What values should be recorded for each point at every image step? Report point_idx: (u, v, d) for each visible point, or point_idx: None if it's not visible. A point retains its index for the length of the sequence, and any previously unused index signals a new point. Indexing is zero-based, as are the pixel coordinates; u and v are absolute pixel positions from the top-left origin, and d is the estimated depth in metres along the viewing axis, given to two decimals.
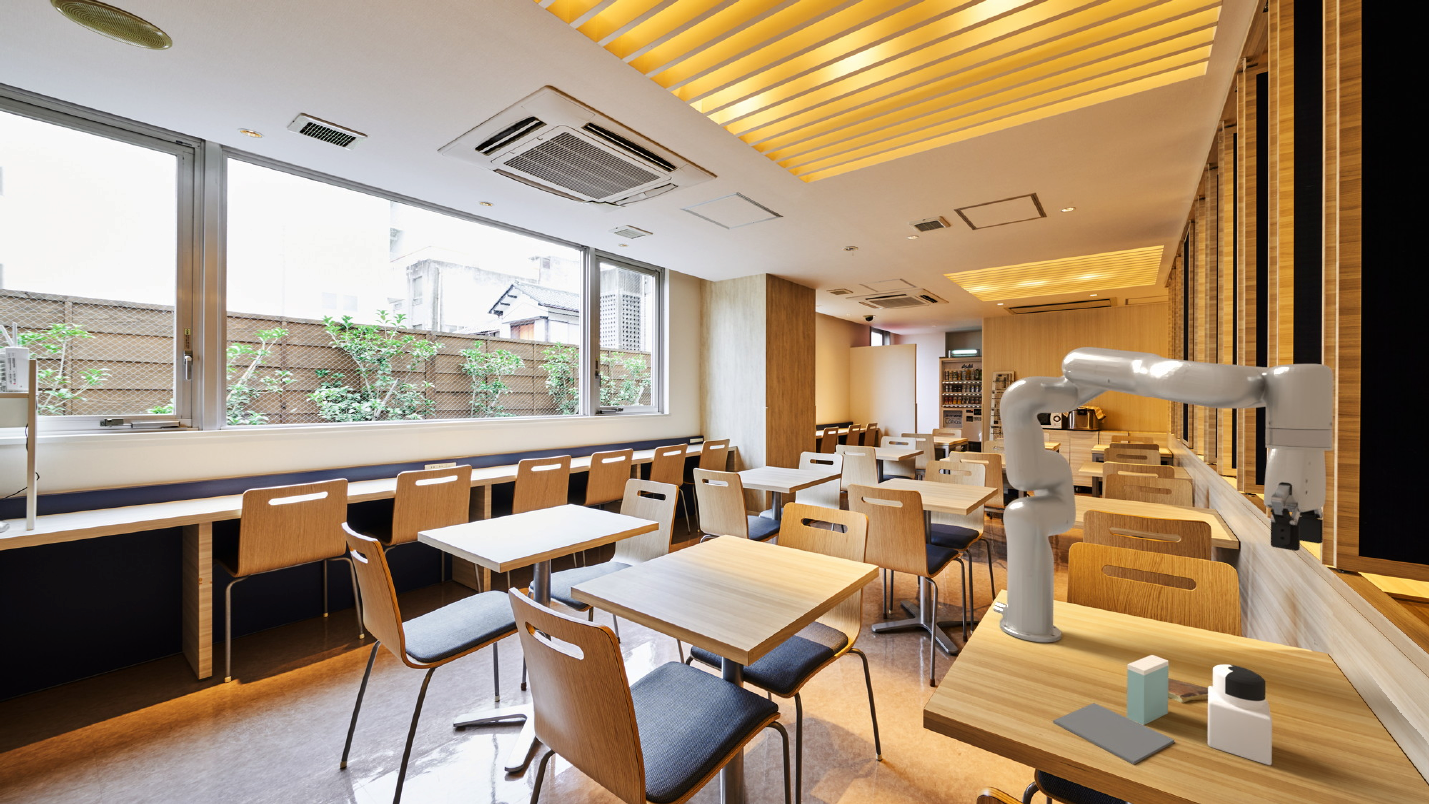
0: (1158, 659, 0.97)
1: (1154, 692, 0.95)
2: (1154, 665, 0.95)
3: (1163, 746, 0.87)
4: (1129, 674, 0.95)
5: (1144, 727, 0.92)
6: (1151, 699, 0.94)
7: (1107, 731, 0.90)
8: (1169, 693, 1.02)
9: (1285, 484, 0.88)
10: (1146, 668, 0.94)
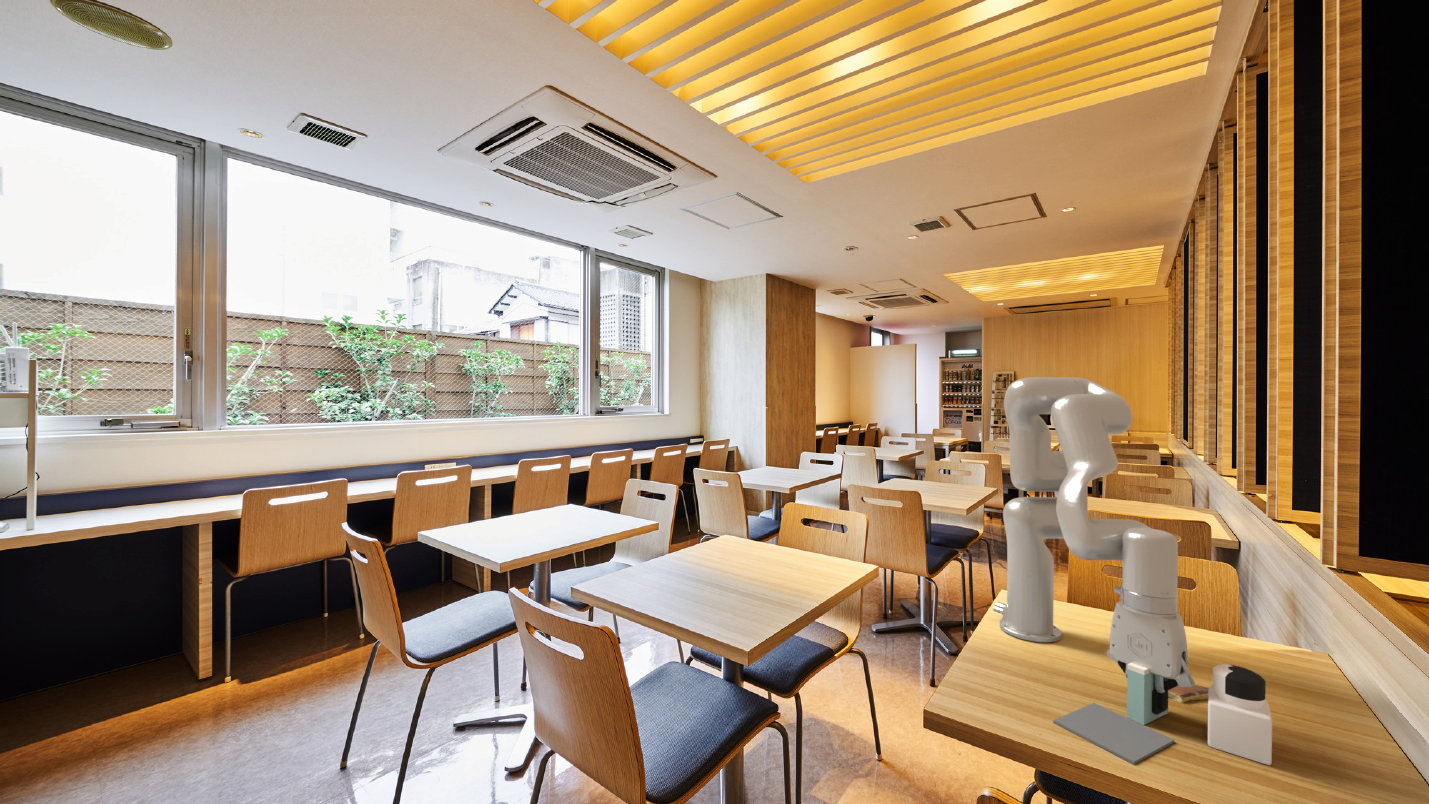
0: None
1: None
2: None
3: (1163, 746, 0.87)
4: (1129, 674, 0.95)
5: (1144, 727, 0.92)
6: (1151, 699, 0.94)
7: (1107, 731, 0.90)
8: (1169, 693, 1.02)
9: None
10: (1146, 668, 0.94)
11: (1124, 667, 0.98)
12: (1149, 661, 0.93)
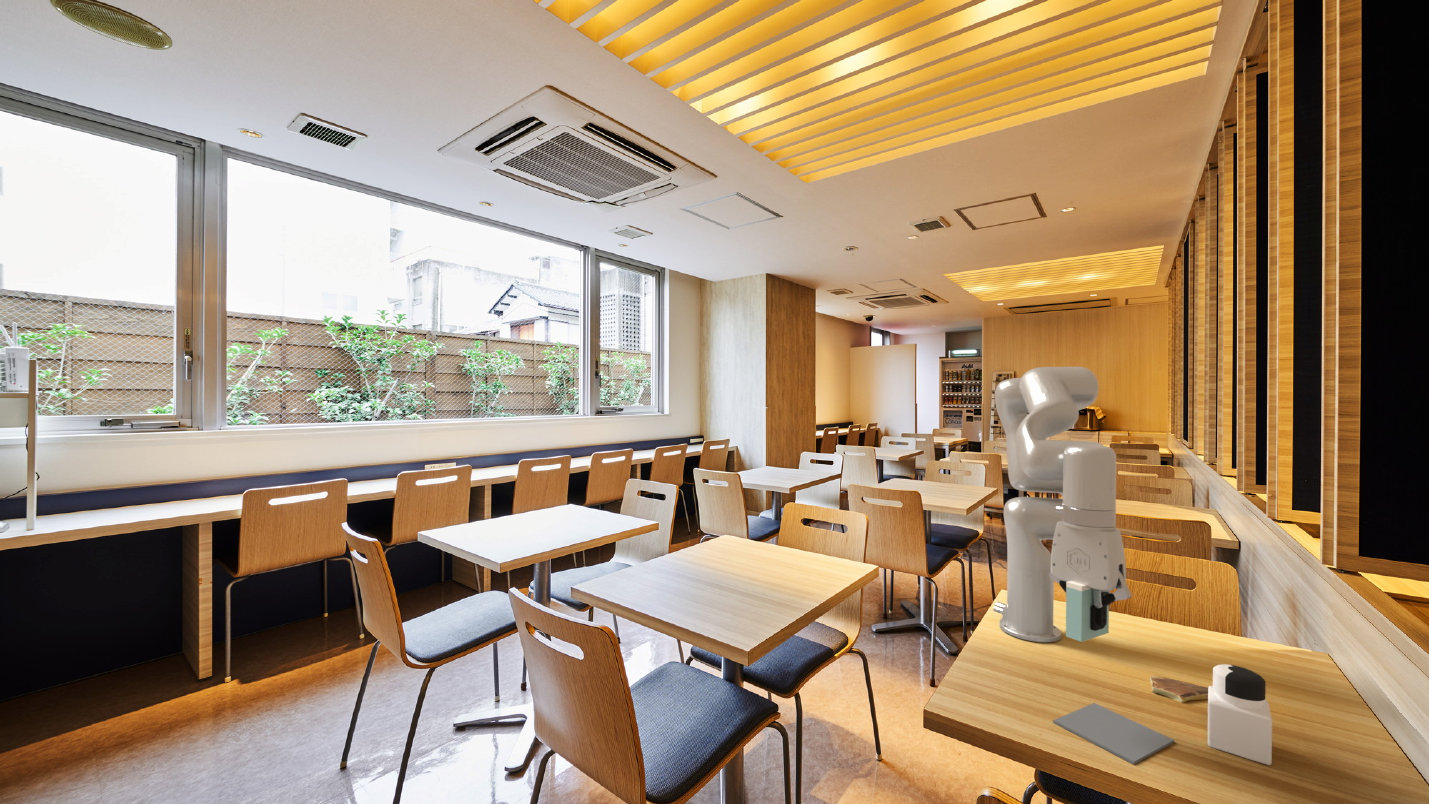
0: None
1: None
2: None
3: (1163, 746, 0.87)
4: (1068, 592, 0.93)
5: (1144, 727, 0.92)
6: None
7: (1107, 731, 0.90)
8: (1169, 693, 1.02)
9: None
10: (1084, 585, 0.92)
11: (1065, 586, 0.97)
12: (1087, 576, 0.92)
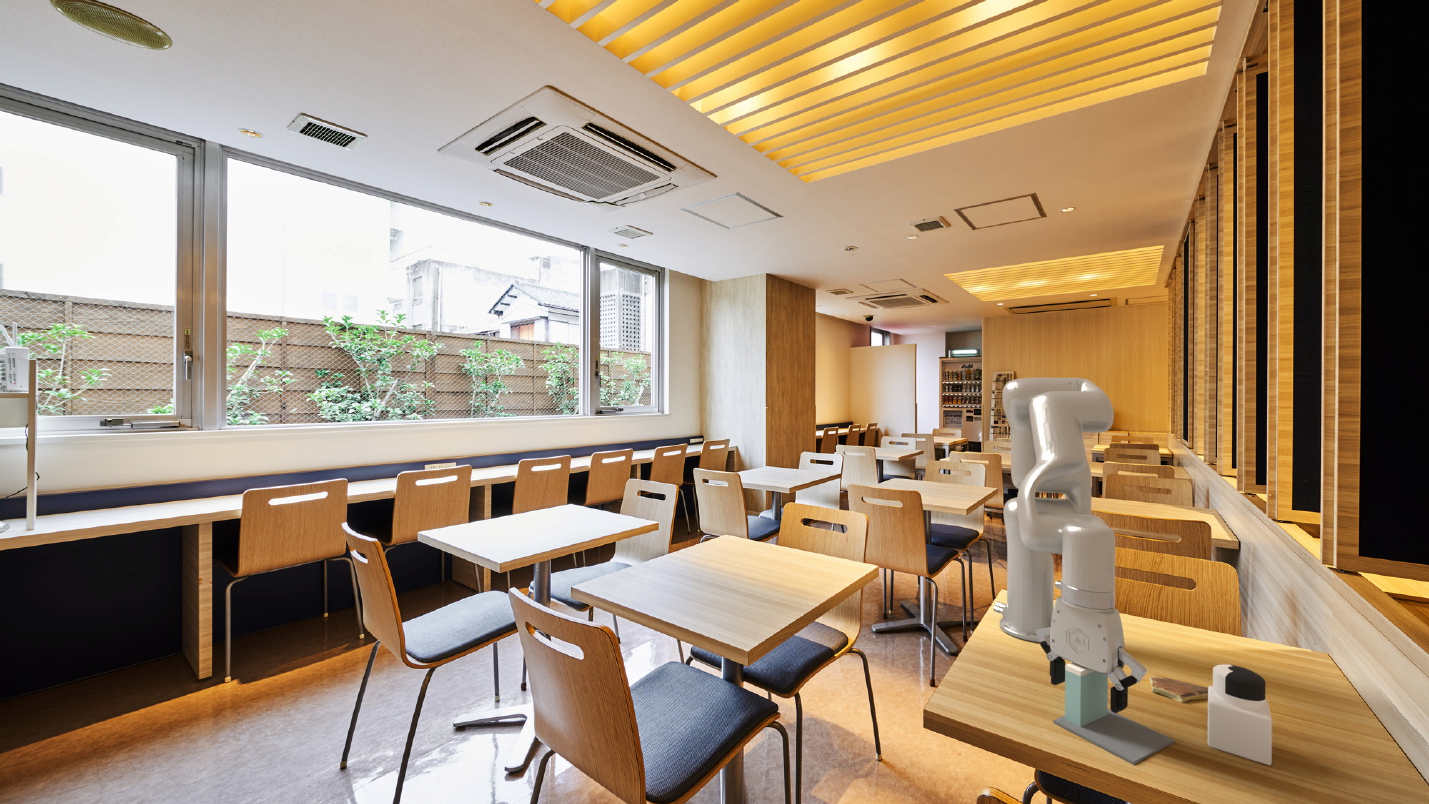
0: None
1: (1092, 693, 0.93)
2: None
3: (1163, 746, 0.87)
4: (1067, 675, 0.94)
5: (1144, 727, 0.92)
6: (1088, 700, 0.93)
7: (1107, 731, 0.90)
8: (1169, 693, 1.02)
9: (1119, 648, 0.90)
10: (1083, 669, 0.92)
11: (1046, 648, 1.00)
12: (1086, 656, 0.92)
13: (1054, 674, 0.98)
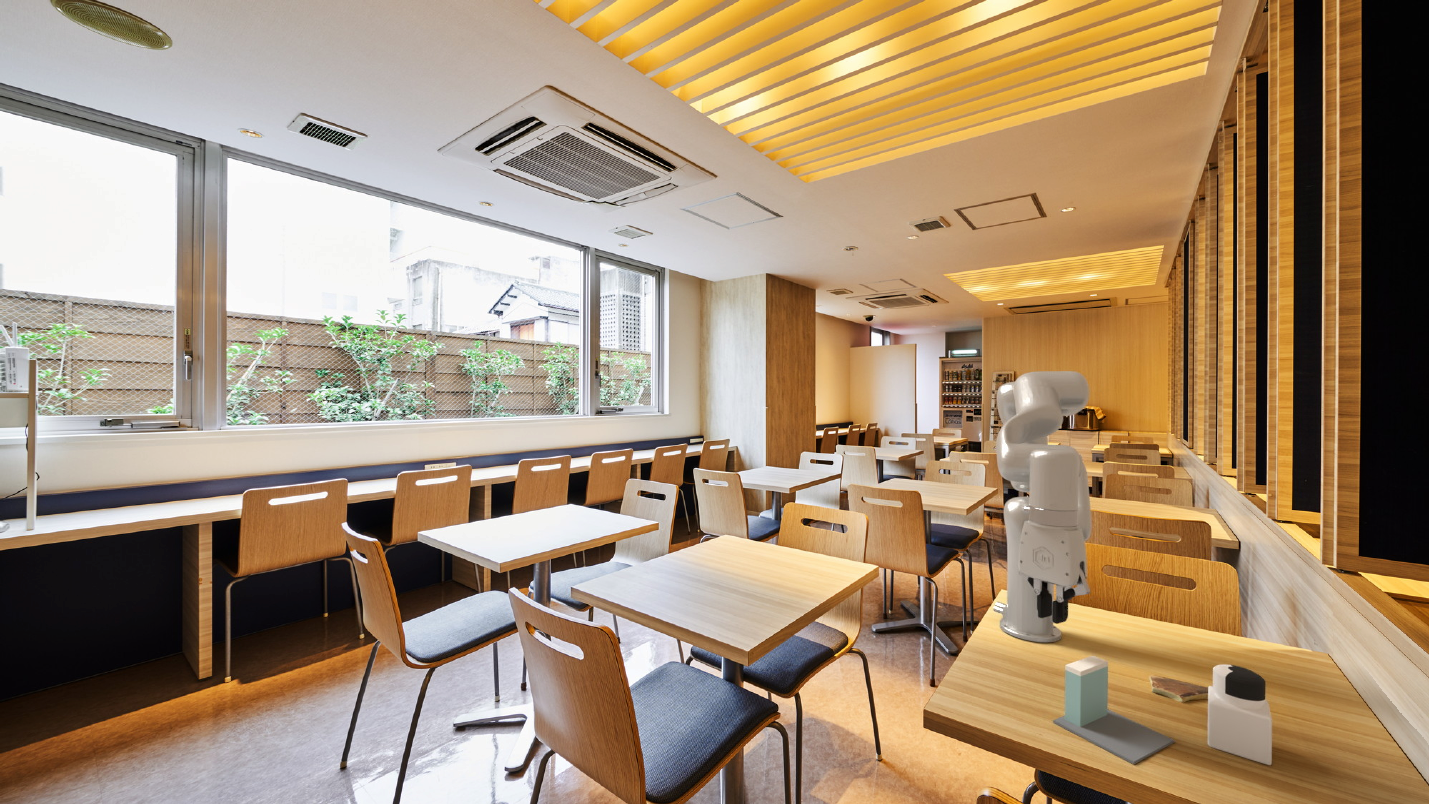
0: (1098, 660, 0.96)
1: (1092, 693, 0.93)
2: (1092, 666, 0.93)
3: (1163, 746, 0.87)
4: (1067, 675, 0.94)
5: (1144, 727, 0.92)
6: (1088, 700, 0.93)
7: (1107, 731, 0.90)
8: (1169, 693, 1.02)
9: None
10: (1083, 669, 0.92)
11: (1033, 583, 1.02)
12: (1051, 572, 0.97)
13: (1041, 607, 1.00)
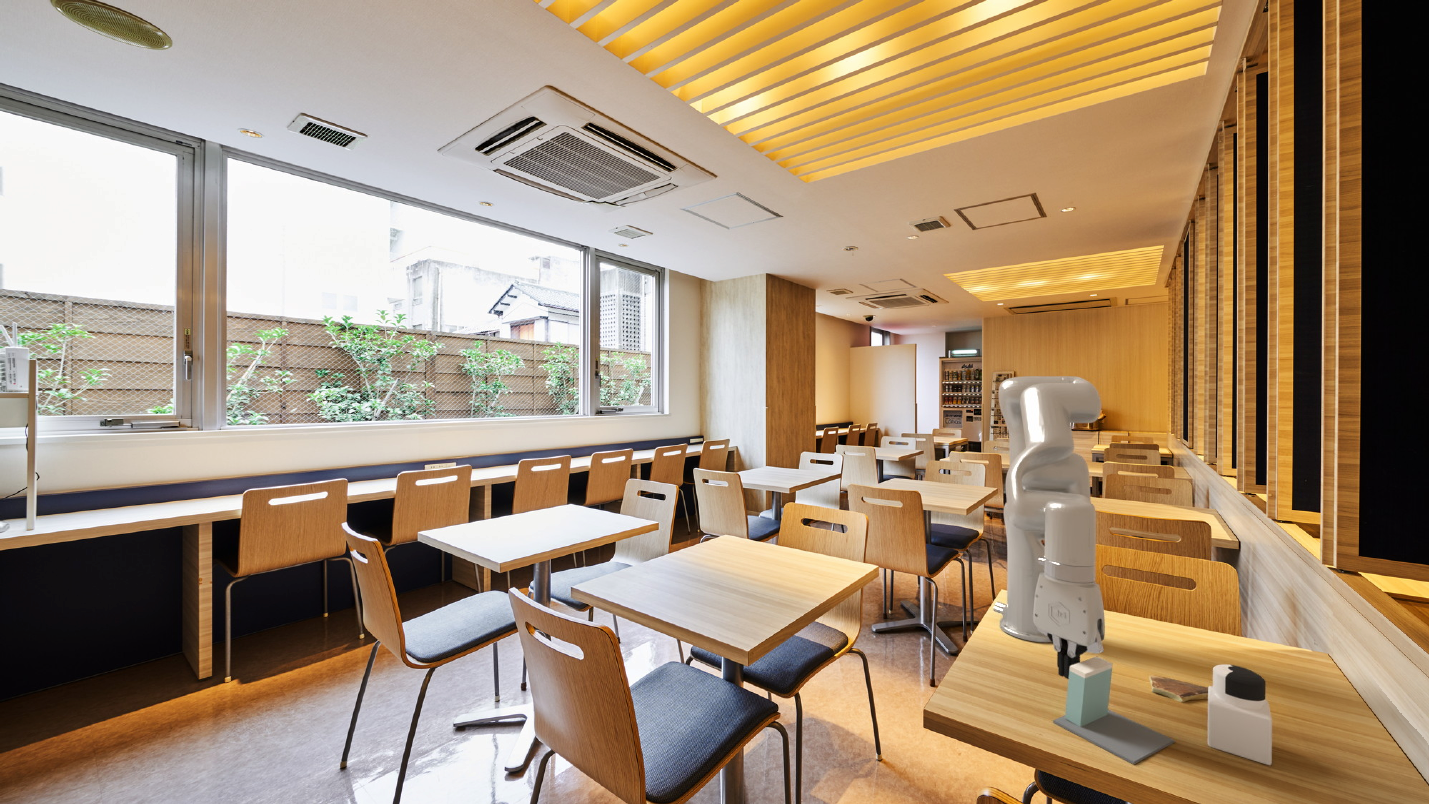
0: (1102, 661, 0.95)
1: (1094, 694, 0.93)
2: (1097, 668, 0.93)
3: (1163, 746, 0.87)
4: (1070, 676, 0.93)
5: (1144, 727, 0.92)
6: (1090, 701, 0.92)
7: (1107, 731, 0.90)
8: (1169, 693, 1.02)
9: None
10: (1088, 671, 0.92)
11: (1053, 639, 0.99)
12: (1067, 629, 0.95)
13: (1062, 665, 0.97)
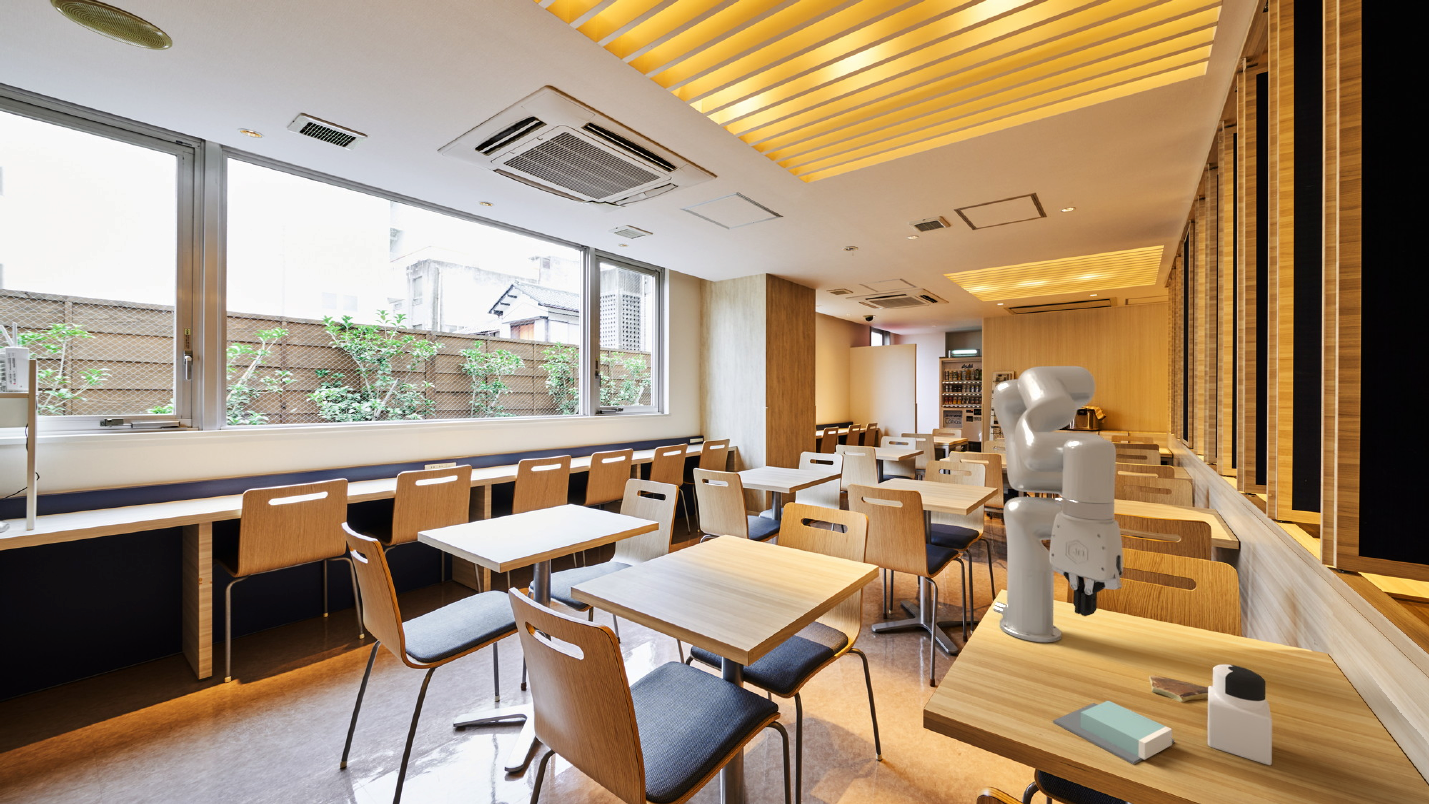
0: (1168, 740, 0.87)
1: None
2: (1157, 751, 0.85)
3: None
4: (1132, 739, 0.85)
5: None
6: None
7: None
8: (1169, 693, 1.02)
9: None
10: (1148, 756, 0.84)
11: None
12: (1085, 566, 0.94)
13: (1078, 603, 0.96)
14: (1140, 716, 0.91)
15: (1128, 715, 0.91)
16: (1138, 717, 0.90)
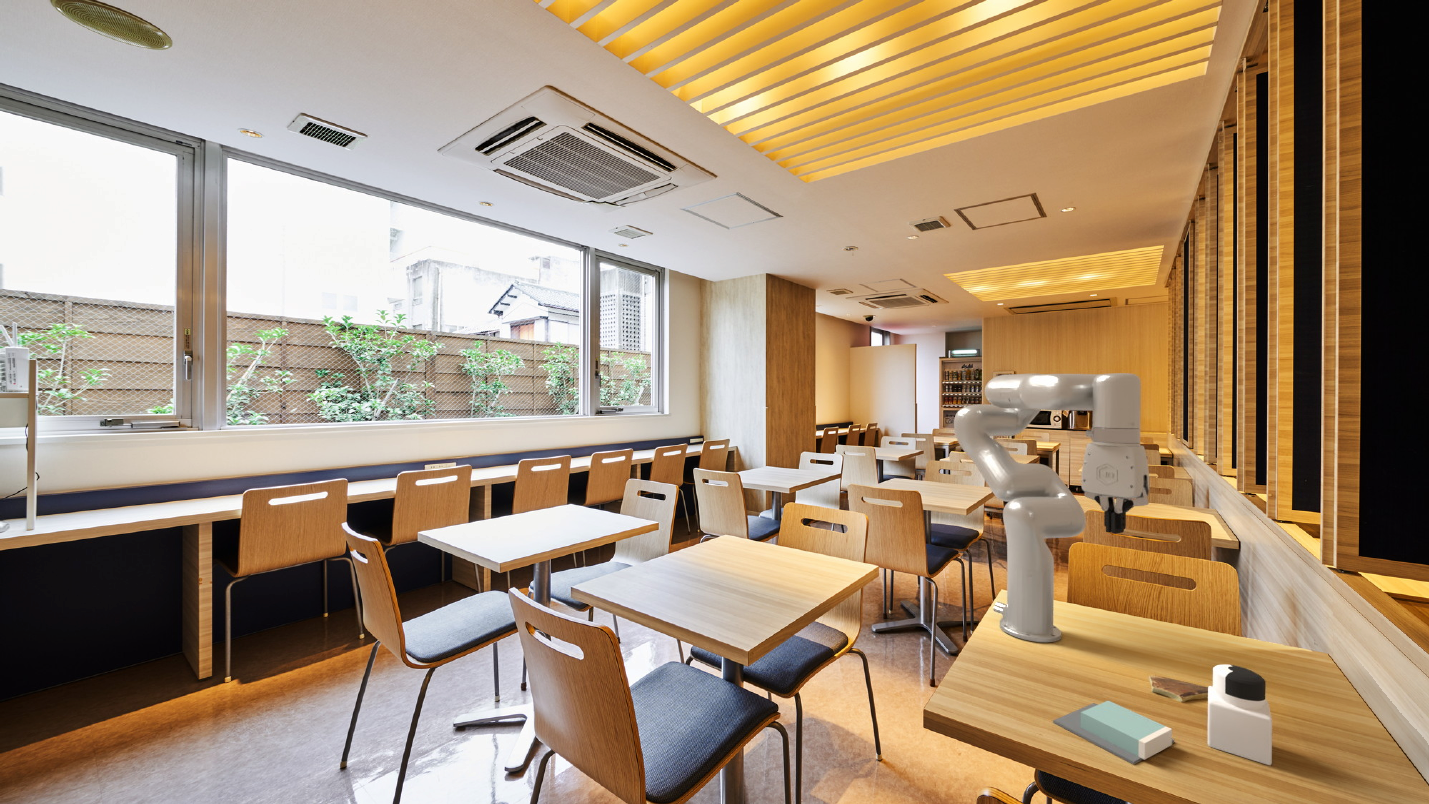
0: (1168, 740, 0.87)
1: None
2: (1157, 751, 0.85)
3: None
4: (1132, 739, 0.85)
5: None
6: None
7: None
8: (1169, 692, 1.02)
9: None
10: (1148, 756, 0.84)
11: None
12: (1115, 487, 1.04)
13: (1109, 522, 1.07)
14: (1140, 716, 0.91)
15: (1128, 715, 0.91)
16: (1138, 717, 0.90)
